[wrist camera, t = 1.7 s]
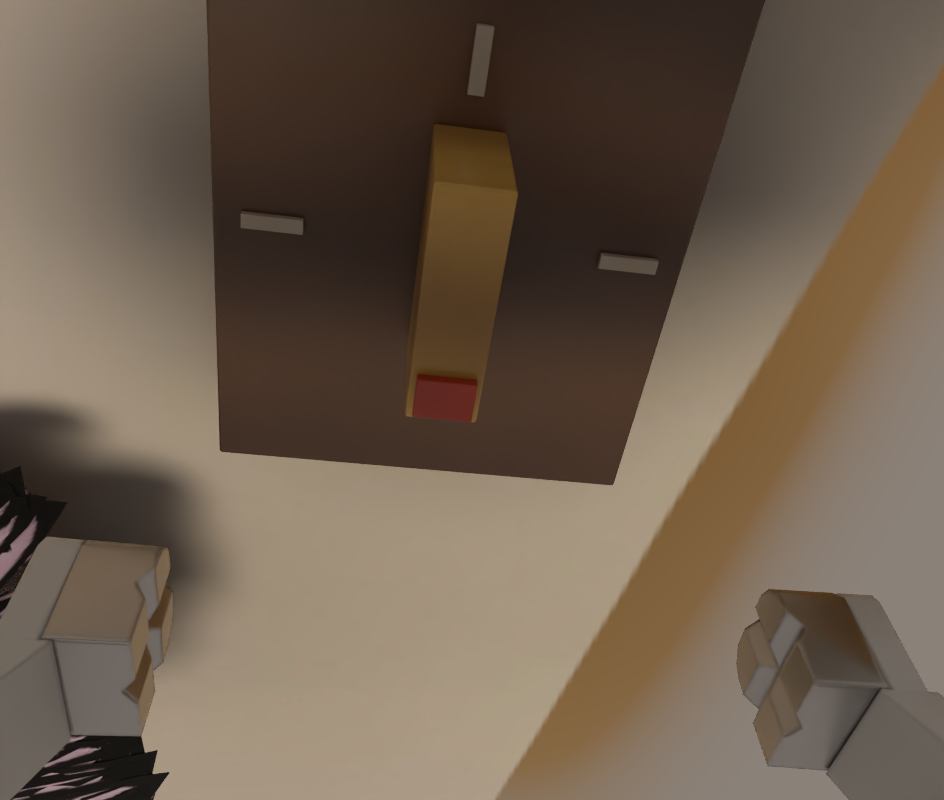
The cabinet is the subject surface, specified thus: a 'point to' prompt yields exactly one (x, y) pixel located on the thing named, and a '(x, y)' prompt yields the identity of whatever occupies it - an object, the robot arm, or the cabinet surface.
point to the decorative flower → (85, 756)
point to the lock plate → (402, 202)
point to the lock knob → (459, 271)
